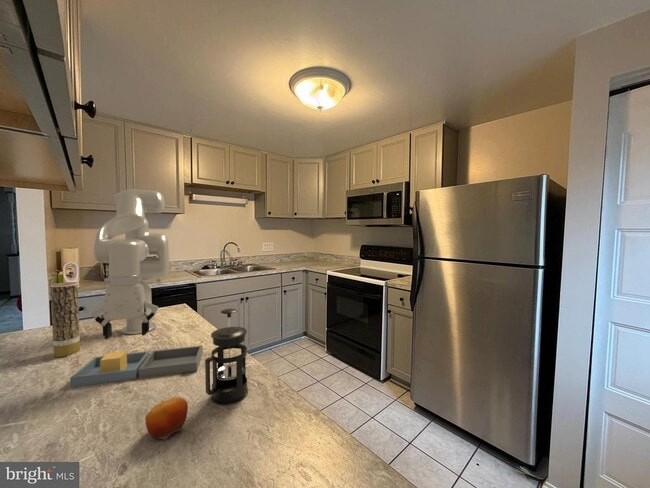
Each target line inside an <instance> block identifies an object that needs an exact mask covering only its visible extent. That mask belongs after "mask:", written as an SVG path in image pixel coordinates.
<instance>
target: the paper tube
mask: <svg viewBox="0 0 650 488" xmlns="http://www.w3.org/2000/svg"><path fill="white" fill-rule="evenodd" d="M78 286H79V285H78V282H77V281H65V282H57V283H52V284H50V297H51V298H50V299H51V317H52V319H51V320H52V346H53V355H54V356H55V357H56V358H62V357H63V358H64V357H68V356H70V355H74V354H76V353H78V352H80V350H81V344H80V343H81V342H80V341H81V339H80V312H79V311H80V310H79V288H78Z"/></svg>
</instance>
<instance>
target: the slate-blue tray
mask: <svg viewBox="0 0 650 488" xmlns="http://www.w3.org/2000/svg"><path fill="white" fill-rule="evenodd" d="M150 354H151V351H150V350H149V351H138V352H127V367H126V368H125V369H124V370H119V371H111V372H103V373H101V372H100V360H101V359H102V358H103V357H104V356H105V355H99V356H94V357H92V358H91V359H90V360H89V361H88V362H87V363H86V364H85V365H84V366H82V367H81V368H80V369H79V370H77V372H75V373H74V374H72V376H70V379H69V380H70V387H71V388H74V387H75V388H76V387H80V386H89V385H97V384H104V383H113V382H119V381H120V382H121V381H129V380H135V379H137V378H138V377H139V368H140V367H141V366H142V364H143V363H144V362H145V360H146V359H147V358H148V356H149V355H150Z"/></svg>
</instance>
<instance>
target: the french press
mask: <svg viewBox="0 0 650 488" xmlns="http://www.w3.org/2000/svg"><path fill="white" fill-rule="evenodd" d="M237 312H238V309H236V308H225V309H222V310H221V311H220V314H224V315H225V314H226V316H227V318H228V326H226V327H222V328H219V329H216V330H214V331H212V333H211V336H210V337H211V338H212V343H213V345H214V346H216V347H215V348H214V349H213V350H212V351H211V356H210V357H207V358H205V359H204V365H205V366H204V368H205V370H204V373H205V378H204V379H205V393H206V394H207V395H208V396H210V398H211V399H210V400H211V402H213V403H214V404H216V405H219V406H228V405H233V404H236V403H239V402H241V401H243V400H244V399H245V398H246V397H247V395H248V394H249V388H248V378H247V377H246V371H247V366H246V364H247V363H246V357H247V356H248V355H247V354H248V347H247V346H246V345H244V344H242V343H244V342H245V340H246V334H247V333H248V330H247V329H246V328H245V327H241V326H231V317H232V314H234V313H237ZM231 349H237V350H239V349H240V354H238V355H235V356H231ZM224 350H228V357H225V354H224ZM216 354H217V356H215V355H216ZM211 362H212V384H211ZM227 387H228V388H229V387H236V389H233V390H226V391H221V390H223V389H225V388H227Z"/></svg>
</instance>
